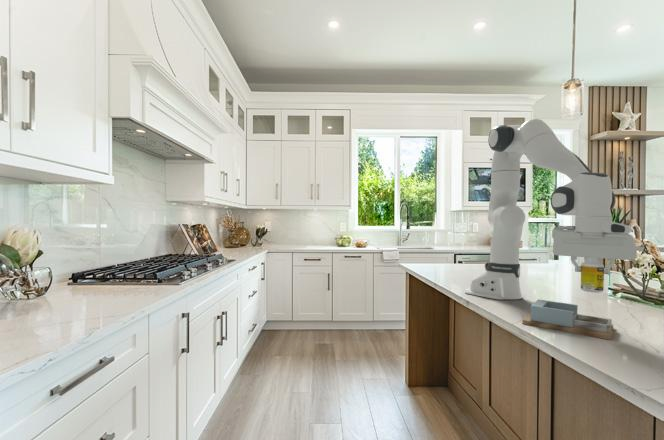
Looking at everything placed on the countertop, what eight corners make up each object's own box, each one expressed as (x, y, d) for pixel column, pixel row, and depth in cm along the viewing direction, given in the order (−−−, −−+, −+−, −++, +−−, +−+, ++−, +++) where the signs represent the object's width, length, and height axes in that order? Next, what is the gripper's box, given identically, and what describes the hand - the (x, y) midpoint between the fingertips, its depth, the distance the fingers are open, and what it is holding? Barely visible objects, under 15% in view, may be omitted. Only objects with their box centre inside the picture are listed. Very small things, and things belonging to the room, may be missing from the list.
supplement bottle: (598, 293, 103) (599, 258, 103) (577, 290, 108) (577, 256, 108) (606, 291, 106) (607, 257, 106) (585, 288, 111) (585, 255, 111)
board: (522, 323, 112) (522, 313, 112) (531, 314, 123) (531, 305, 123) (611, 339, 98) (611, 328, 98) (613, 328, 109) (613, 317, 109)
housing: (530, 320, 112) (530, 305, 112) (537, 312, 121) (538, 299, 121) (572, 327, 105) (573, 312, 105) (577, 319, 114) (577, 304, 114)
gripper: (550, 225, 111) (550, 270, 111) (637, 227, 98) (636, 278, 98) (553, 225, 116) (553, 268, 116) (637, 227, 103) (636, 275, 103)
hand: (592, 272), depth 107 cm, fingers closed on supplement bottle, 5 cm apart
